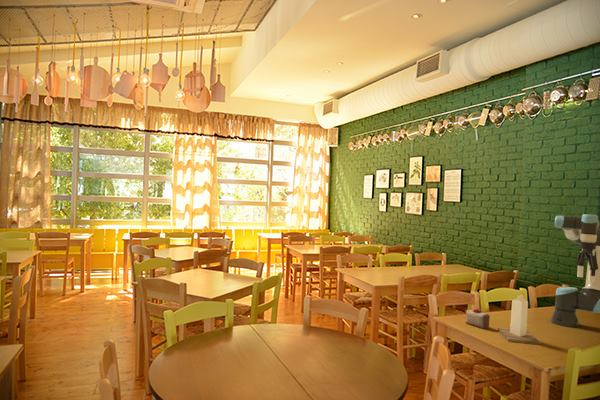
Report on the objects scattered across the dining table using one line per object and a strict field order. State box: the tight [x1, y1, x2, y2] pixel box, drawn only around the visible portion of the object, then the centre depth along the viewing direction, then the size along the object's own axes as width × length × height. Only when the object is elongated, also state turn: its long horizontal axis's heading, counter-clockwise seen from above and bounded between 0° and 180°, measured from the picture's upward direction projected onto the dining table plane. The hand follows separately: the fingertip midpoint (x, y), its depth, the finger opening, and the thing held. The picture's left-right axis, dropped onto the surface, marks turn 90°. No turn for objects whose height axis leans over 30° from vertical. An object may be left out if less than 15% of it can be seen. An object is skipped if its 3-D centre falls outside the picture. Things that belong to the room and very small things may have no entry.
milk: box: [509, 294, 529, 337], centre depth 243 cm, size 6×6×22 cm
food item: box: [465, 308, 491, 329], centre depth 262 cm, size 14×8×10 cm, turn 33°
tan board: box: [497, 327, 541, 346], centre depth 243 cm, size 20×16×2 cm
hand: (585, 279), depth 243 cm, fingers open, 13 cm apart
